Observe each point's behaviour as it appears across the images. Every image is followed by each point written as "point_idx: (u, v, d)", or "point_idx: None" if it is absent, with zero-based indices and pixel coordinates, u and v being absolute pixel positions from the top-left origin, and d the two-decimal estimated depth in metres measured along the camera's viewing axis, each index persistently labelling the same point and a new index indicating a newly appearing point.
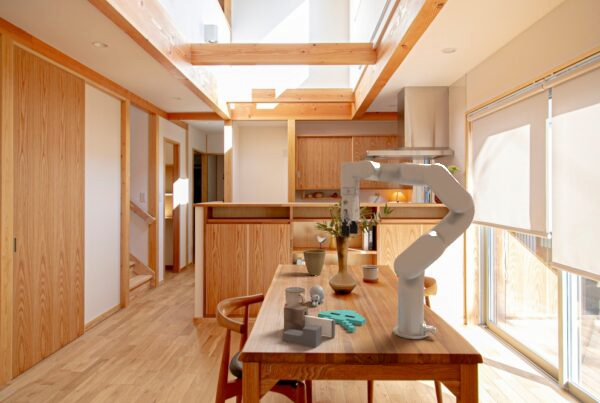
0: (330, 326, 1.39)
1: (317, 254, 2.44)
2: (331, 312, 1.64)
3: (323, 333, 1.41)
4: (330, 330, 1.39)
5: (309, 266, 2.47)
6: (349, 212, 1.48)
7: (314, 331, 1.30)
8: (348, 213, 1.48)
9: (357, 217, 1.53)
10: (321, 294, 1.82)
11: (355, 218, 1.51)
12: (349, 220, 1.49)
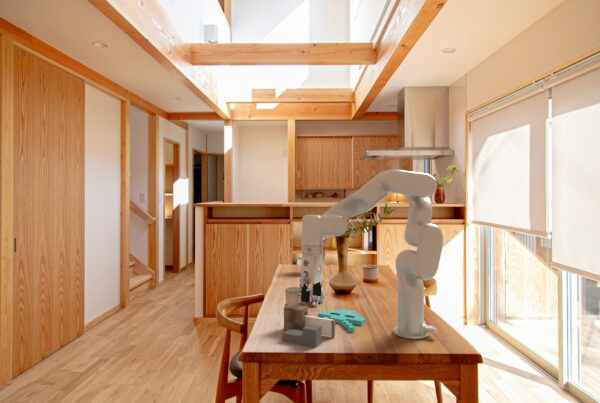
0: (330, 326, 1.39)
1: None
2: (331, 312, 1.64)
3: (323, 333, 1.41)
4: (330, 330, 1.39)
5: None
6: (310, 275, 1.28)
7: (314, 331, 1.30)
8: (308, 276, 1.28)
9: (320, 278, 1.33)
10: (321, 294, 1.81)
11: (317, 281, 1.30)
12: (310, 284, 1.29)
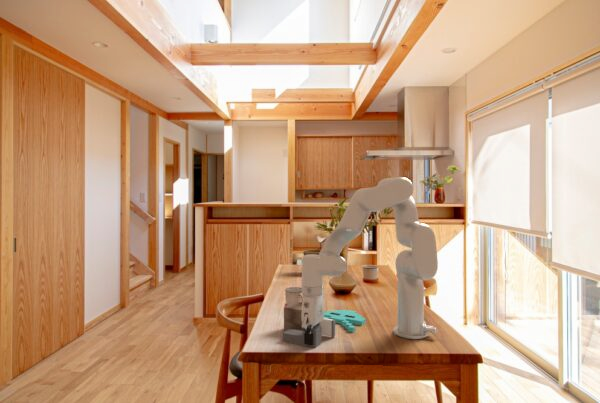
0: (330, 326, 1.39)
1: (317, 254, 2.44)
2: (331, 312, 1.64)
3: (323, 333, 1.41)
4: (330, 330, 1.39)
5: None
6: (310, 317, 1.28)
7: (314, 331, 1.30)
8: (309, 318, 1.28)
9: (321, 318, 1.33)
10: None
11: (317, 322, 1.31)
12: (312, 326, 1.30)
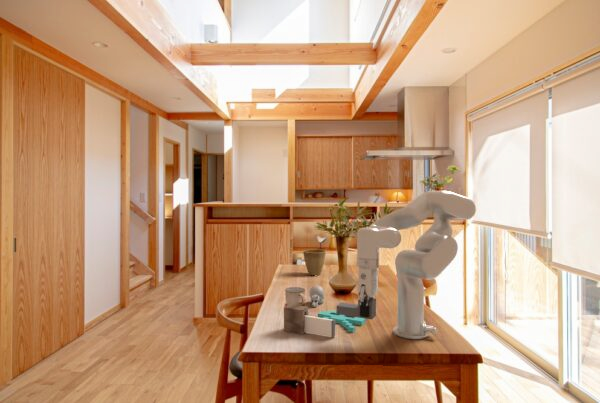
0: (330, 326, 1.39)
1: (317, 254, 2.44)
2: (331, 312, 1.64)
3: (323, 333, 1.41)
4: (330, 330, 1.39)
5: (309, 266, 2.47)
6: (367, 288, 1.28)
7: (370, 303, 1.30)
8: (366, 289, 1.28)
9: (376, 291, 1.33)
10: (321, 294, 1.81)
11: (373, 294, 1.31)
12: (368, 298, 1.30)
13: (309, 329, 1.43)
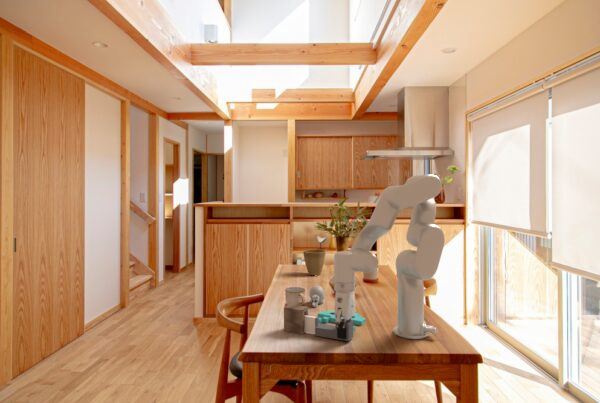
0: (314, 323, 1.42)
1: (317, 254, 2.44)
2: (331, 312, 1.64)
3: (307, 330, 1.44)
4: (314, 327, 1.42)
5: (309, 266, 2.47)
6: (344, 311, 1.32)
7: (347, 325, 1.35)
8: (343, 312, 1.32)
9: (353, 313, 1.38)
10: (321, 294, 1.81)
11: (350, 316, 1.35)
12: (345, 320, 1.35)
13: None
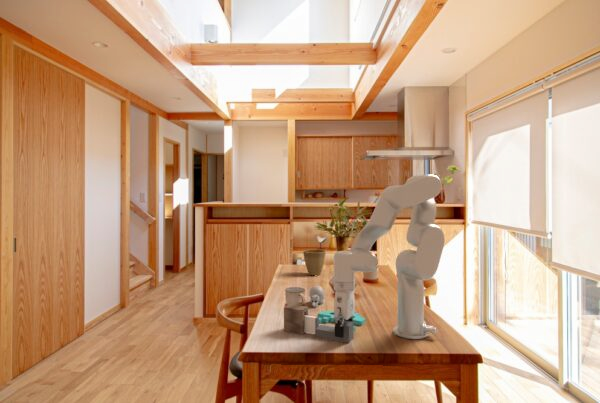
0: (314, 323, 1.42)
1: (317, 254, 2.44)
2: (331, 312, 1.64)
3: (307, 330, 1.44)
4: (314, 327, 1.42)
5: (309, 266, 2.47)
6: (343, 311, 1.32)
7: (347, 327, 1.35)
8: (342, 312, 1.32)
9: (352, 313, 1.38)
10: (321, 295, 1.81)
11: (350, 316, 1.35)
12: (343, 319, 1.33)
13: None
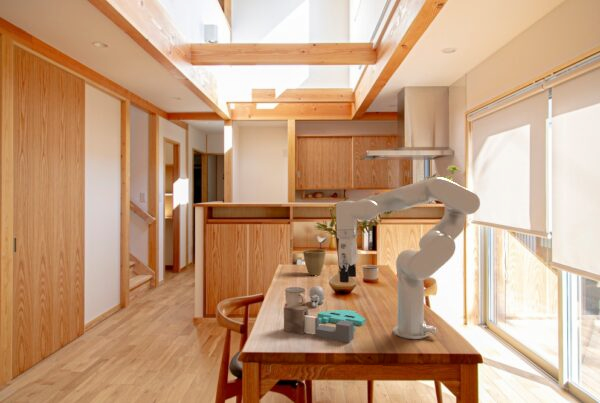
0: (314, 323, 1.42)
1: (317, 254, 2.44)
2: (331, 312, 1.64)
3: (307, 330, 1.44)
4: (314, 327, 1.42)
5: (309, 266, 2.47)
6: (347, 257, 1.37)
7: (347, 327, 1.35)
8: (346, 257, 1.37)
9: (355, 260, 1.42)
10: (321, 295, 1.80)
11: (353, 262, 1.40)
12: (348, 265, 1.38)
13: None
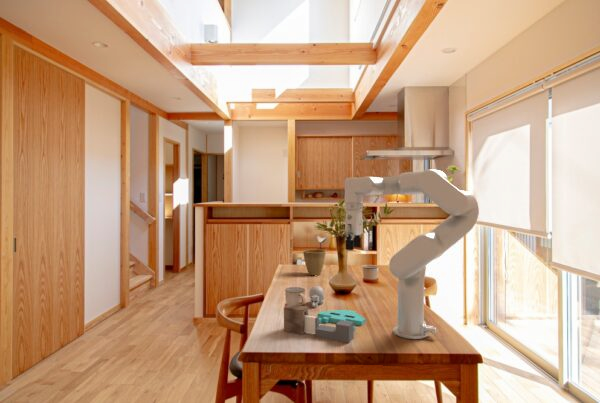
0: (314, 323, 1.42)
1: (317, 254, 2.44)
2: (331, 312, 1.64)
3: (307, 330, 1.44)
4: (314, 327, 1.42)
5: (309, 266, 2.47)
6: (353, 227, 1.52)
7: (347, 327, 1.35)
8: (352, 228, 1.52)
9: (361, 231, 1.58)
10: (321, 295, 1.80)
11: (358, 233, 1.55)
12: (353, 234, 1.53)
13: None
